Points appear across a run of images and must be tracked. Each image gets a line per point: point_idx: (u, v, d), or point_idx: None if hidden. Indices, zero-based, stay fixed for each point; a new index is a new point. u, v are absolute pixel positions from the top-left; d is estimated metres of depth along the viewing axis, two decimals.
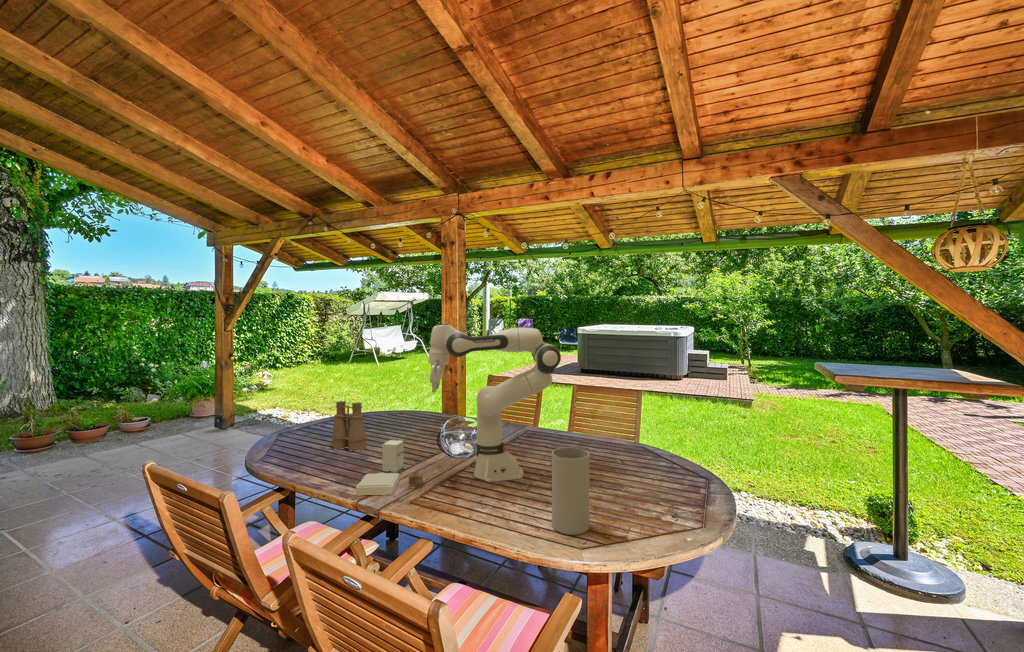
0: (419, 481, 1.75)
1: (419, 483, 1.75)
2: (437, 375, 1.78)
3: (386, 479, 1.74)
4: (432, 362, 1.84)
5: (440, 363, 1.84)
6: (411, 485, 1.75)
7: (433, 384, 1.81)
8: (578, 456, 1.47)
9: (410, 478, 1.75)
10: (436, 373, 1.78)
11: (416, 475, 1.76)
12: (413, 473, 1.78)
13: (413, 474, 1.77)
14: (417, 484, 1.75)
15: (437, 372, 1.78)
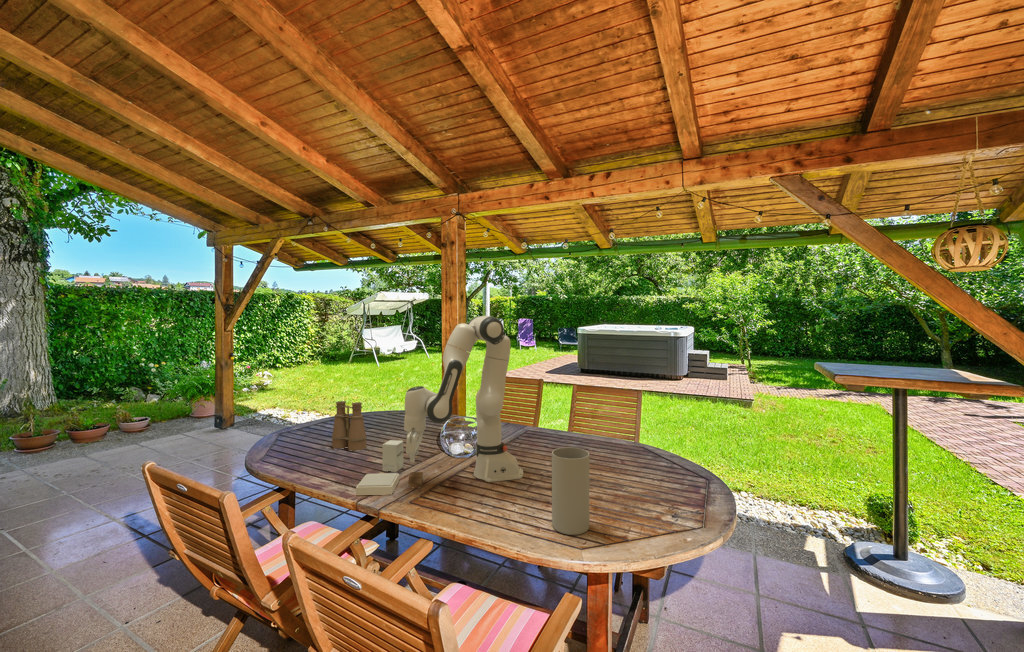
0: (419, 481, 1.75)
1: (419, 483, 1.75)
2: (413, 445, 1.67)
3: (386, 479, 1.74)
4: (408, 430, 1.73)
5: (416, 430, 1.73)
6: (411, 485, 1.75)
7: (410, 454, 1.70)
8: (578, 456, 1.47)
9: (410, 478, 1.75)
10: (412, 443, 1.67)
11: (416, 475, 1.76)
12: (413, 473, 1.78)
13: (413, 474, 1.77)
14: (417, 484, 1.75)
15: (413, 442, 1.67)
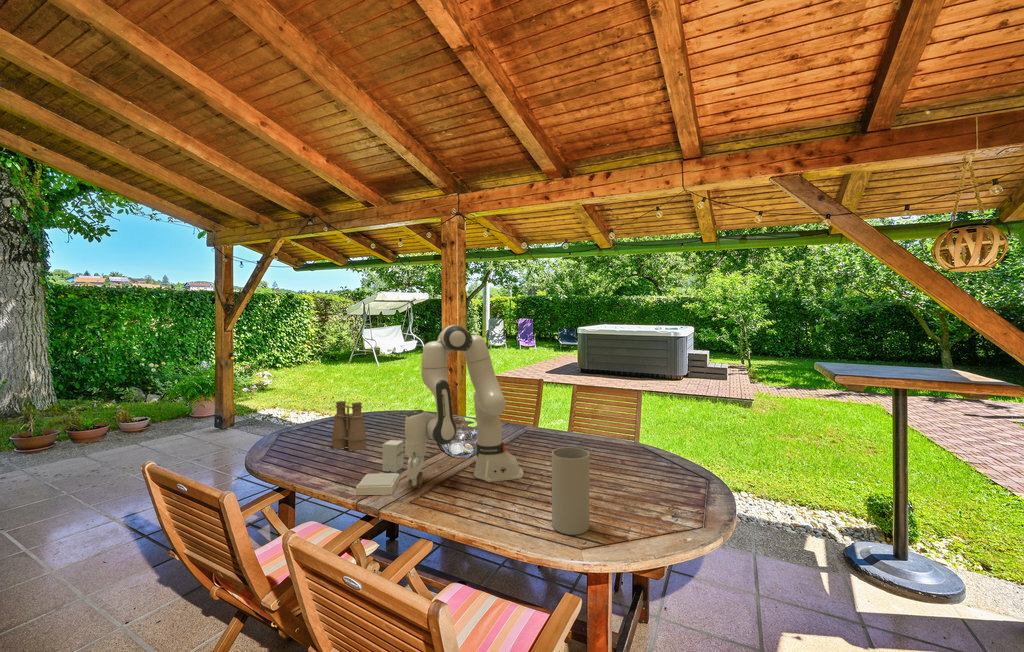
0: (419, 481, 1.75)
1: (419, 483, 1.75)
2: (414, 471, 1.68)
3: (386, 479, 1.74)
4: (408, 454, 1.73)
5: (417, 455, 1.73)
6: (411, 485, 1.75)
7: None
8: (578, 456, 1.47)
9: None
10: (413, 469, 1.68)
11: None
12: None
13: None
14: (417, 484, 1.75)
15: (414, 467, 1.68)
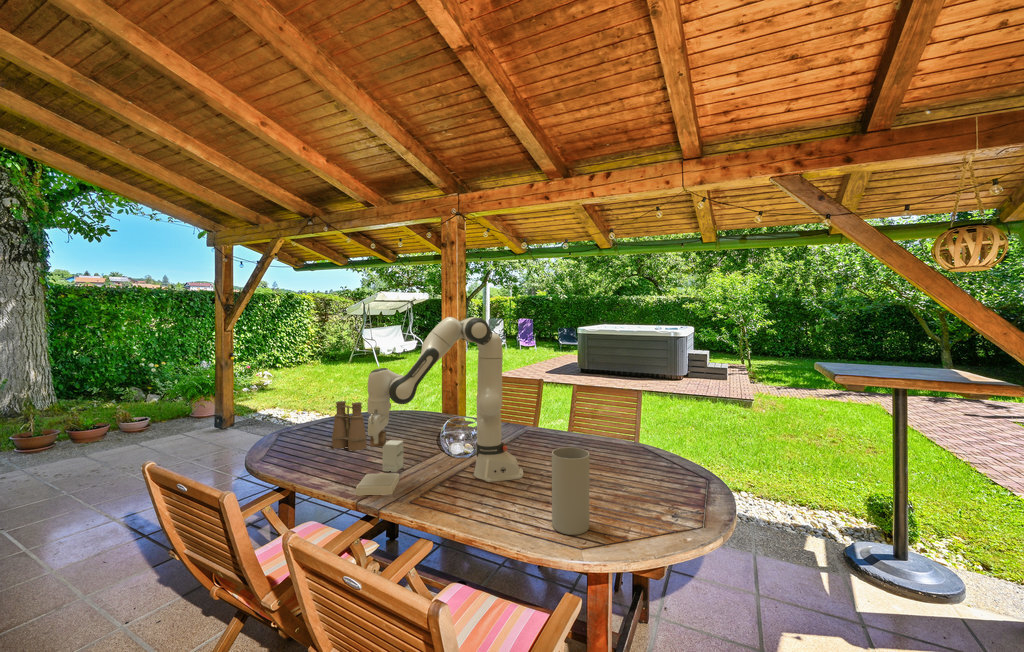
0: (381, 439, 1.72)
1: (381, 441, 1.72)
2: (375, 427, 1.64)
3: (386, 479, 1.74)
4: (371, 412, 1.70)
5: (379, 412, 1.70)
6: (373, 443, 1.72)
7: (374, 435, 1.69)
8: (578, 456, 1.47)
9: (372, 436, 1.71)
10: (374, 425, 1.64)
11: None
12: None
13: None
14: (379, 442, 1.72)
15: (375, 424, 1.64)
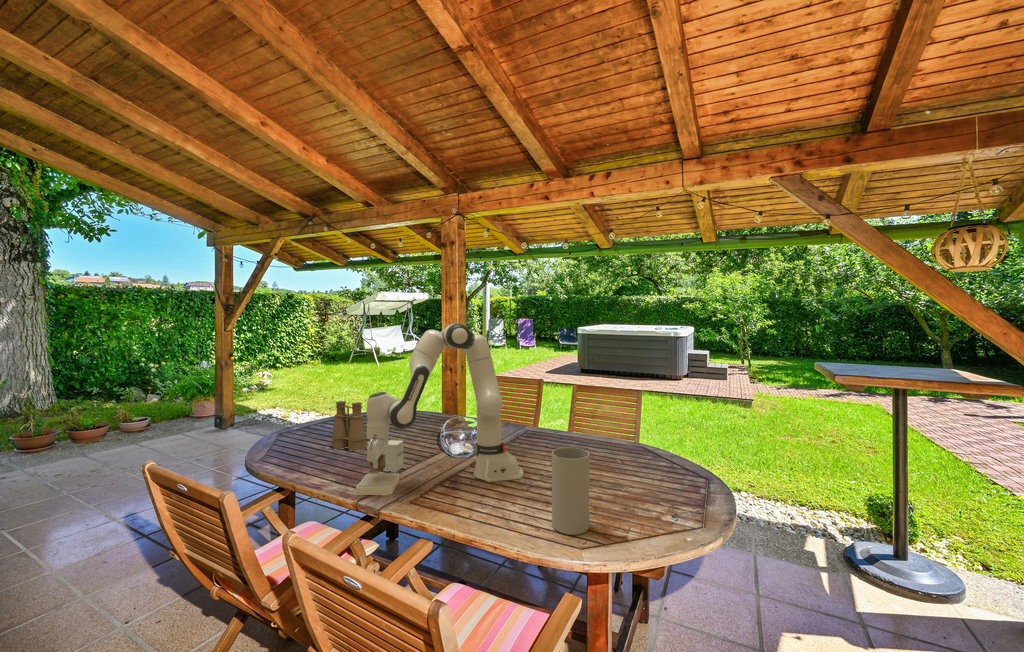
0: (380, 464, 1.72)
1: (380, 466, 1.72)
2: (374, 453, 1.65)
3: (386, 479, 1.74)
4: (370, 437, 1.70)
5: (378, 437, 1.70)
6: (373, 468, 1.72)
7: None
8: (578, 456, 1.47)
9: None
10: (373, 451, 1.65)
11: None
12: None
13: None
14: (378, 467, 1.72)
15: (374, 449, 1.65)
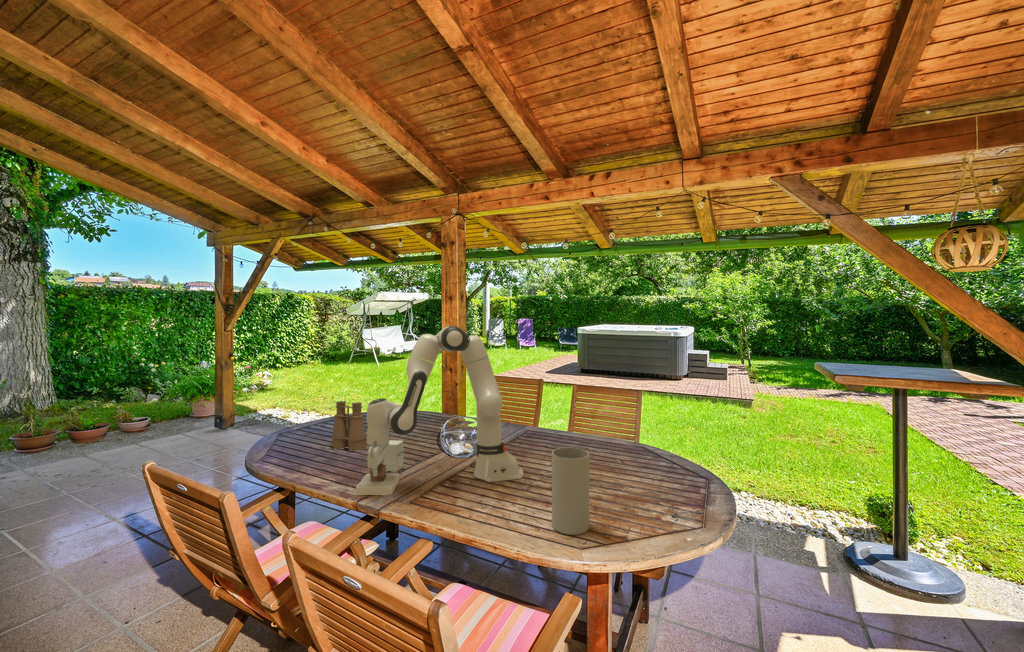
0: (381, 474, 1.72)
1: (381, 476, 1.72)
2: (375, 459, 1.65)
3: (386, 479, 1.74)
4: (370, 443, 1.70)
5: (379, 444, 1.70)
6: (373, 478, 1.72)
7: (373, 468, 1.68)
8: (578, 456, 1.47)
9: None
10: (373, 457, 1.65)
11: (378, 468, 1.73)
12: None
13: None
14: (379, 477, 1.72)
15: (374, 456, 1.65)
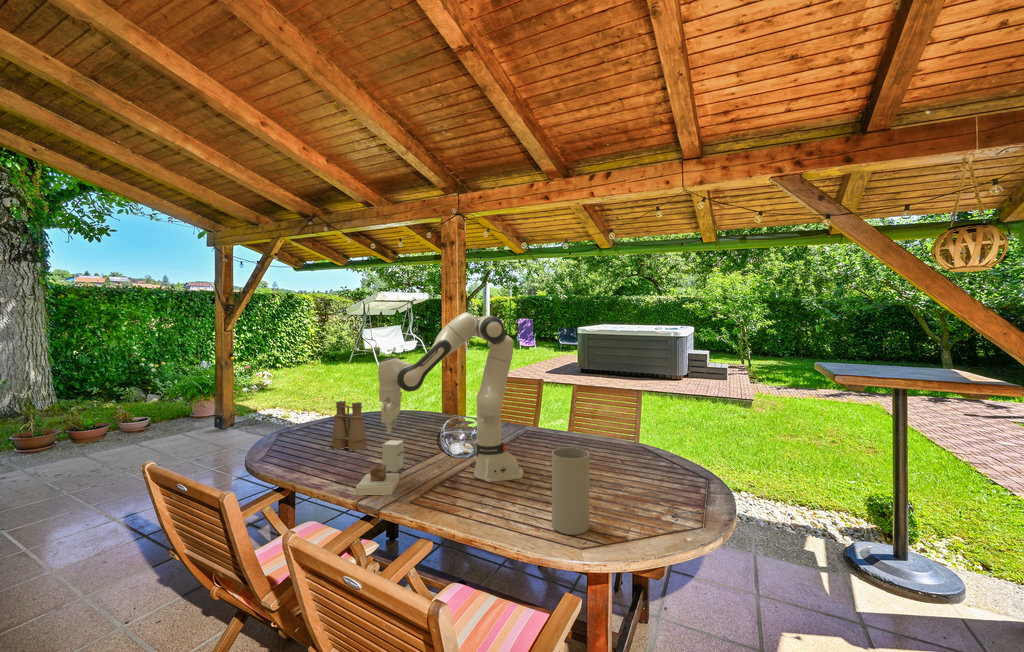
0: (381, 474, 1.72)
1: (381, 476, 1.72)
2: (388, 414, 1.68)
3: (386, 479, 1.74)
4: (383, 400, 1.73)
5: (391, 400, 1.73)
6: (373, 478, 1.72)
7: (387, 424, 1.71)
8: (578, 456, 1.47)
9: (372, 471, 1.72)
10: (387, 412, 1.68)
11: (378, 468, 1.73)
12: (376, 466, 1.75)
13: (375, 467, 1.74)
14: (379, 477, 1.72)
15: (388, 411, 1.68)
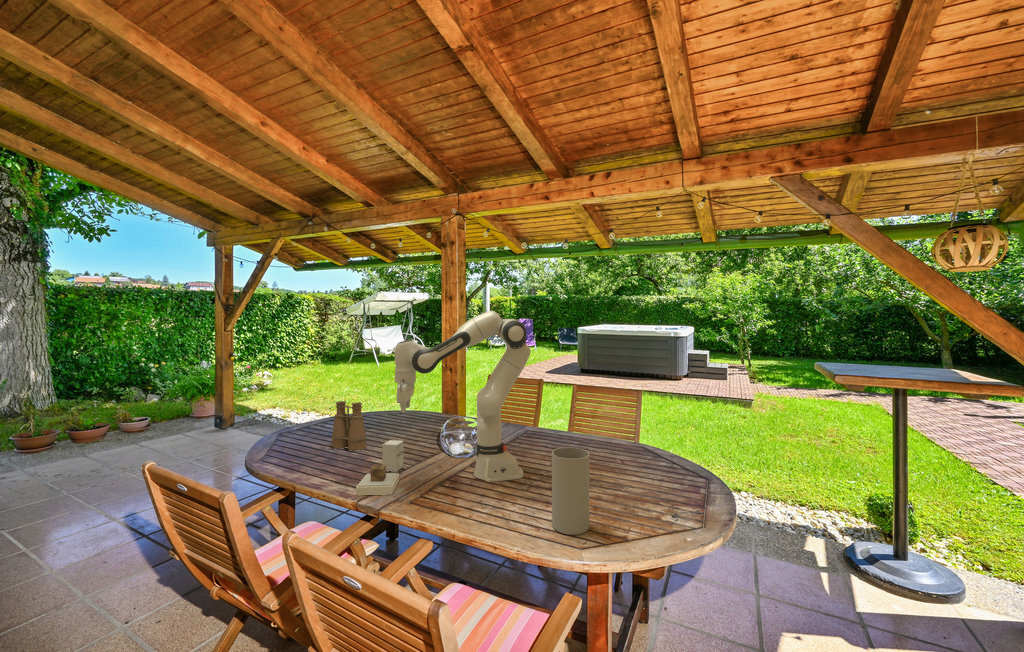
0: (381, 474, 1.72)
1: (381, 476, 1.72)
2: (403, 395, 1.72)
3: (386, 479, 1.74)
4: (398, 381, 1.77)
5: (406, 381, 1.77)
6: (373, 478, 1.72)
7: (401, 404, 1.75)
8: (578, 456, 1.47)
9: (372, 471, 1.72)
10: (402, 393, 1.72)
11: (378, 468, 1.73)
12: (376, 466, 1.75)
13: (375, 467, 1.74)
14: (379, 477, 1.72)
15: (403, 391, 1.72)
